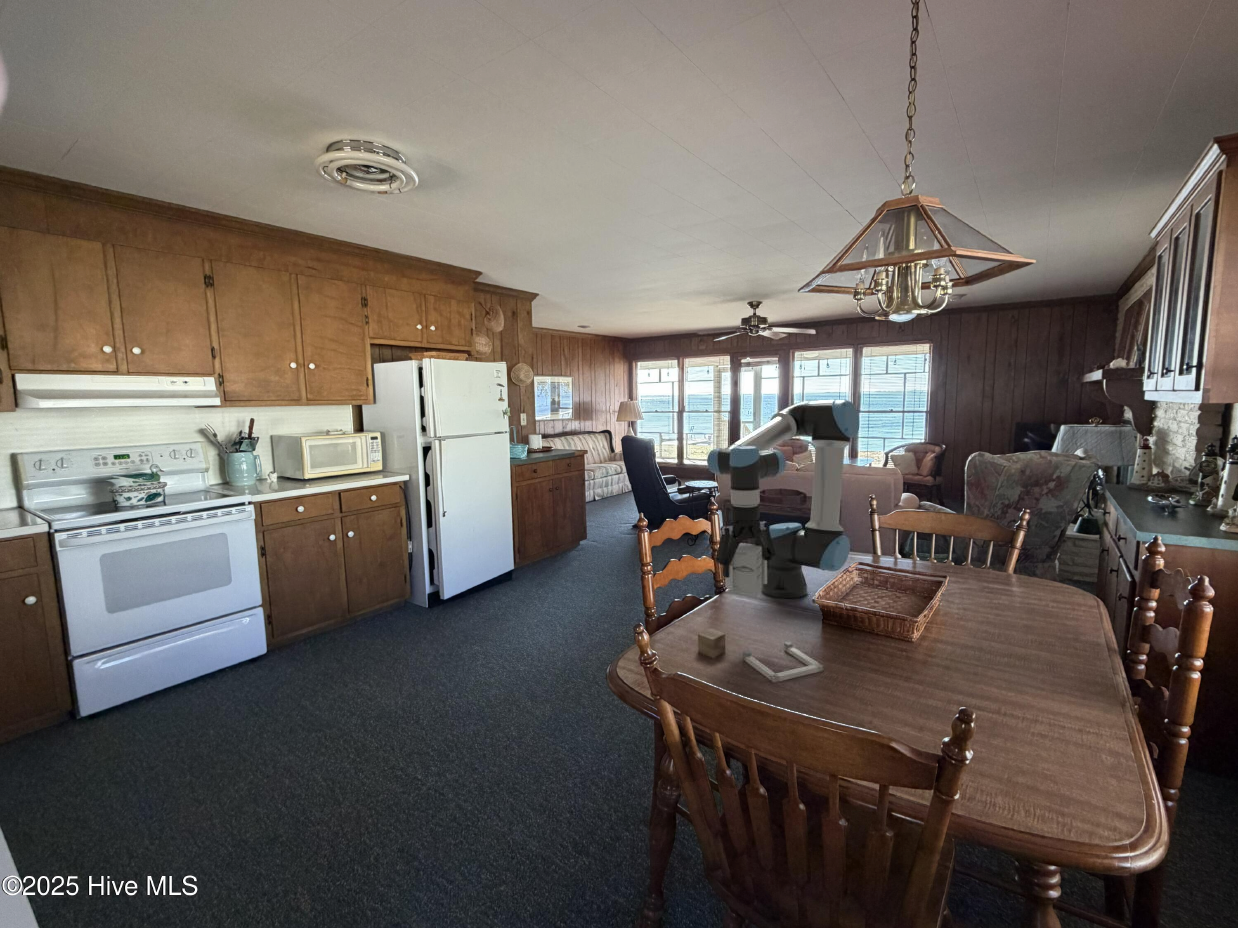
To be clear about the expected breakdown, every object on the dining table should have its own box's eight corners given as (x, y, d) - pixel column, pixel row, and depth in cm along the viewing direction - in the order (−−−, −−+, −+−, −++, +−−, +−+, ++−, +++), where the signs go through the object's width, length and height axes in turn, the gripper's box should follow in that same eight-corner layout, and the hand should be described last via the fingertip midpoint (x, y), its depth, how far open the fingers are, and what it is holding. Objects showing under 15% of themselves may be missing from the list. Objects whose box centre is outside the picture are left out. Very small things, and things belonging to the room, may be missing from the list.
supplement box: (729, 594, 148) (728, 548, 146) (736, 585, 154) (736, 541, 153) (756, 598, 144) (756, 551, 143) (763, 589, 151) (762, 544, 149)
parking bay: (788, 648, 145) (788, 641, 144) (823, 670, 133) (823, 662, 132) (742, 659, 140) (742, 651, 140) (774, 682, 128) (773, 674, 128)
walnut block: (710, 646, 148) (710, 628, 148) (725, 651, 145) (725, 633, 144) (698, 651, 145) (697, 633, 145) (713, 658, 141) (712, 639, 141)
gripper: (772, 498, 154) (773, 575, 156) (700, 506, 146) (702, 587, 149) (789, 502, 147) (789, 583, 149) (714, 511, 139) (716, 596, 142)
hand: (746, 585), depth 149 cm, fingers closed on supplement box, 10 cm apart
